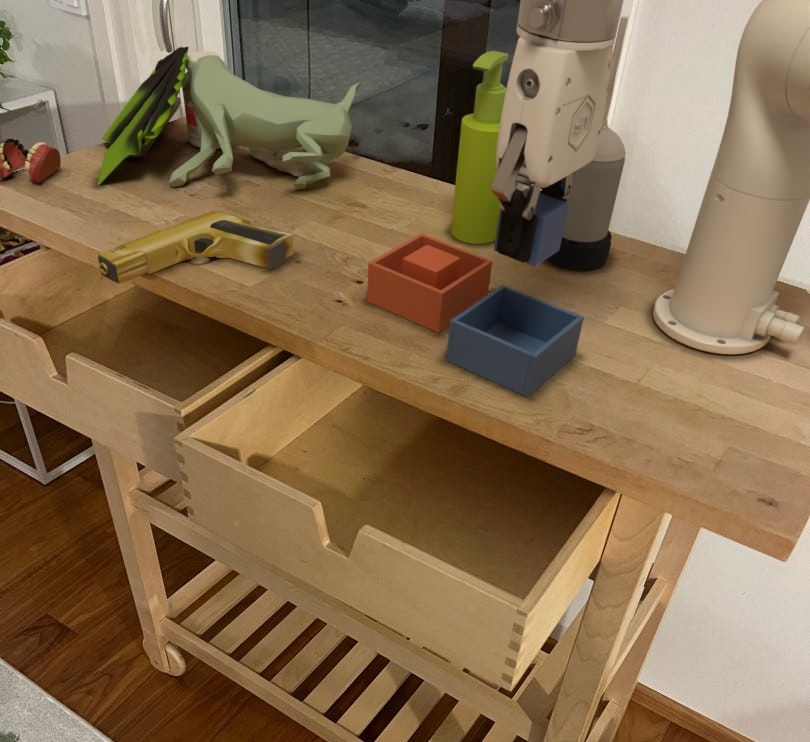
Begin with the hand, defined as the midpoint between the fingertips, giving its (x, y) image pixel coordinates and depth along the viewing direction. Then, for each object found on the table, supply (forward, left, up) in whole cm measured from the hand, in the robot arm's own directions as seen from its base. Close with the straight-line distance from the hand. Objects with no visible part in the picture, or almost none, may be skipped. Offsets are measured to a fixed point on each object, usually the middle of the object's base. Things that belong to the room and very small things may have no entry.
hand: (527, 245), depth 75 cm
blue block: (0, 0, -1) cm, 1 cm away
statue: (+44, -13, -12) cm, 47 cm away
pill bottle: (+62, -19, -12) cm, 66 cm away
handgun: (+30, +8, -11) cm, 33 cm away
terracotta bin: (+13, -4, -12) cm, 18 cm away
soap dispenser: (+18, -21, -12) cm, 30 cm away
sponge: (+49, -21, -12) cm, 55 cm away
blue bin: (0, 0, -12) cm, 12 cm away
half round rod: (+70, -16, -10) cm, 73 cm away
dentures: (+66, +3, -9) cm, 67 cm away
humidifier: (+6, -25, -12) cm, 28 cm away
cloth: (+63, -8, -6) cm, 64 cm away
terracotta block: (+13, -4, -11) cm, 18 cm away
